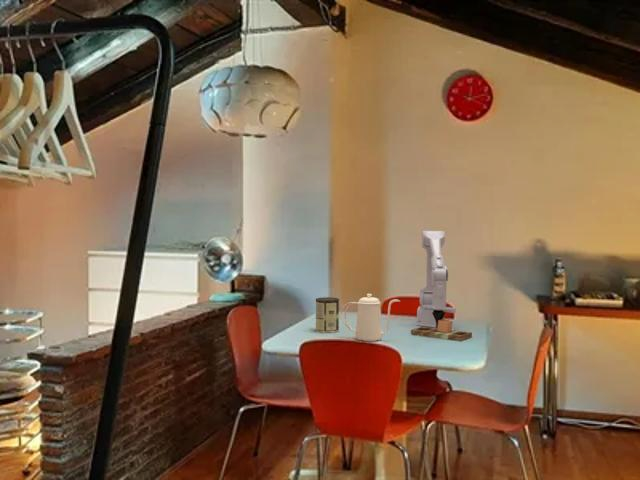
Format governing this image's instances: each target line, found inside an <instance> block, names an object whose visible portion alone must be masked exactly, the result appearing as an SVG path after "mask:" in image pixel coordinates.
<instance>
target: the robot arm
mask: <svg viewBox="0 0 640 480" xmlns="http://www.w3.org/2000/svg"><path fill="white" fill-rule="evenodd" d="M445 242H446V233H445V231H444V230H423V231H422V233H421V248H423V249H424V250H425V251H426V279H425V280H426V283H425V285H423V286H422V287H421V288H420V289H419V291H420V293H419V304H420V305H419V306H418V308H417V310H416V324H415V325H416V326H420V327H431V328H437V327H438V320H441V319H444V317H445V315H446V313H451V314H456V313H457V312H456V311H457V310H456V309H457V308H456V307H450V306H447V282H448V280H449V270H448V267H447V266H446V262H445V257H444V256H443V255H442V248H443V247H444V245H445Z"/></svg>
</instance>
